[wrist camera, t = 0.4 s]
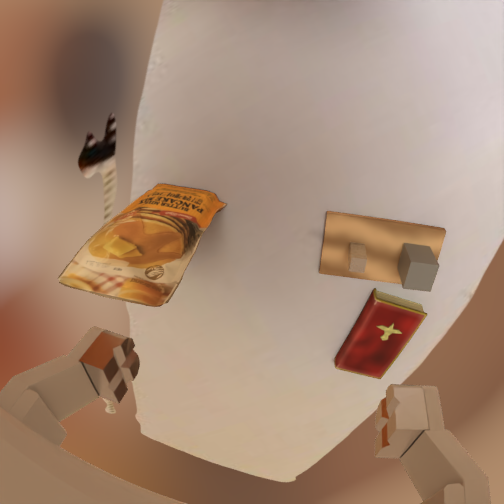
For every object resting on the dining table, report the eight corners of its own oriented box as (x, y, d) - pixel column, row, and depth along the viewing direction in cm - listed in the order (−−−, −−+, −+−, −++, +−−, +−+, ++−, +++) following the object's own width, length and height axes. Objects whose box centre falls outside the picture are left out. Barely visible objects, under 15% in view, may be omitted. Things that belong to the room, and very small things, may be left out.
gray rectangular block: (403, 242, 52) (411, 261, 46) (429, 246, 51) (439, 265, 45) (397, 267, 54) (402, 288, 49) (422, 270, 53) (430, 291, 48)
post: (350, 241, 54) (351, 257, 50) (364, 243, 54) (367, 259, 49) (348, 254, 56) (348, 271, 51) (362, 256, 55) (364, 273, 51)
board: (327, 211, 54) (327, 213, 53) (444, 228, 50) (446, 231, 49) (319, 269, 60) (319, 273, 59) (427, 283, 56) (428, 287, 55)
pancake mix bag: (232, 227, 60) (166, 328, 36) (143, 209, 63) (51, 286, 39) (235, 193, 56) (163, 282, 33) (142, 178, 59) (40, 245, 35)
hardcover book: (334, 355, 71) (334, 368, 67) (373, 286, 59) (375, 299, 56) (379, 366, 70) (380, 380, 66) (423, 302, 58) (427, 315, 55)
